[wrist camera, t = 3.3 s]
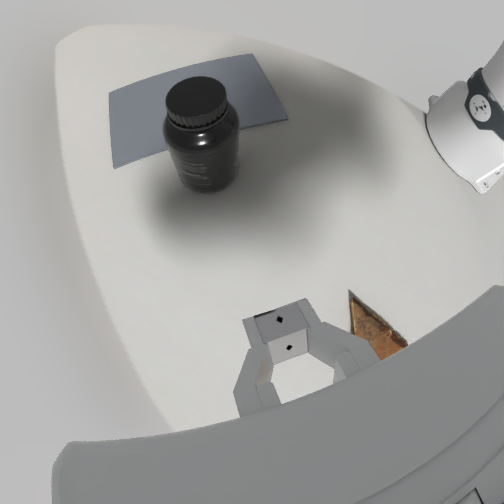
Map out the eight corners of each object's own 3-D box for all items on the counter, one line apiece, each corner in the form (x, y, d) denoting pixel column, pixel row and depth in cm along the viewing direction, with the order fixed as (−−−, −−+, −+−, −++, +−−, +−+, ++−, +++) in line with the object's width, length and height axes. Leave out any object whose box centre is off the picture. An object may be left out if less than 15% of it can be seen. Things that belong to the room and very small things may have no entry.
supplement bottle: (251, 170, 30) (259, 98, 18) (202, 206, 29) (182, 146, 17) (214, 132, 31) (206, 58, 19) (167, 165, 30) (136, 97, 18)
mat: (252, 55, 34) (252, 53, 33) (286, 119, 32) (287, 117, 31) (109, 94, 32) (108, 92, 31) (114, 168, 29) (113, 167, 29)
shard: (347, 297, 28) (353, 297, 27) (403, 291, 29) (412, 290, 27) (348, 392, 26) (354, 397, 25) (404, 379, 27) (411, 382, 25)
